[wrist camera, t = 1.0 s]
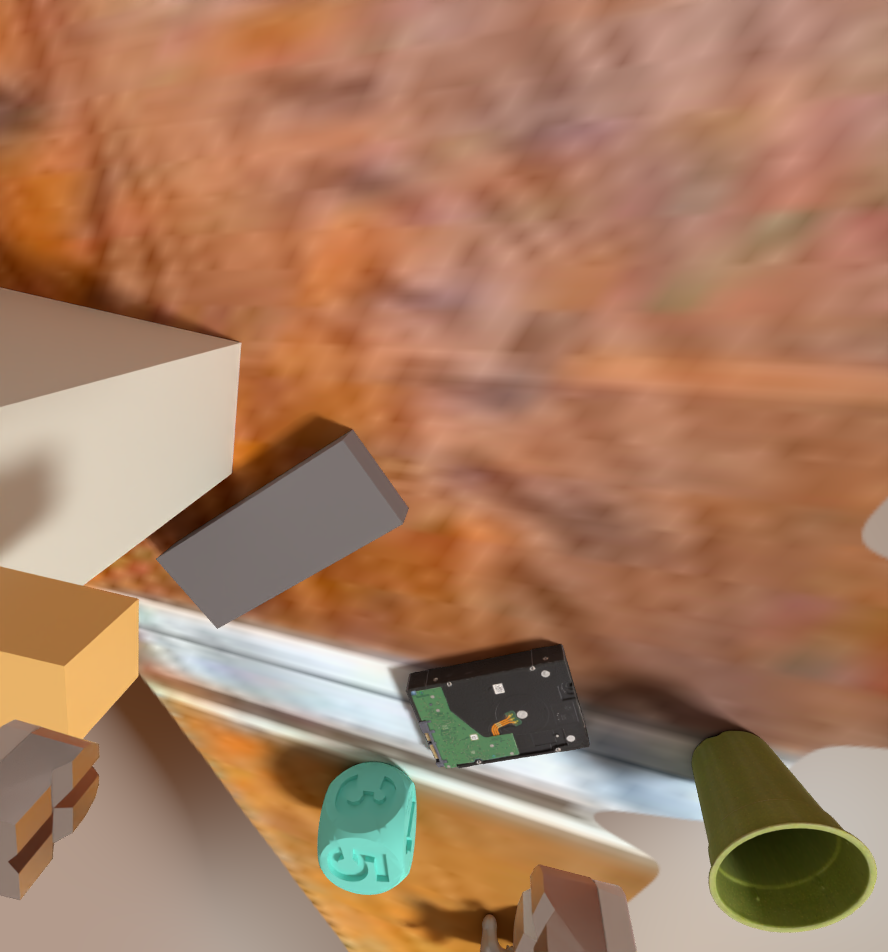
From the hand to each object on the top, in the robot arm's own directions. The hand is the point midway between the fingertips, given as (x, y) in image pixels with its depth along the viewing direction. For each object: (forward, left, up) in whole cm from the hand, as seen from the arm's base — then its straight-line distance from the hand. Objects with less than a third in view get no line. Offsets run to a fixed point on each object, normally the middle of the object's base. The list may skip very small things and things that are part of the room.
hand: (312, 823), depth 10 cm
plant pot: (+42, +4, -34) cm, 55 cm away
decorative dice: (+30, -29, -34) cm, 54 cm away
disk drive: (+26, -12, -35) cm, 45 cm away
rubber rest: (+1, -18, -34) cm, 39 cm away
